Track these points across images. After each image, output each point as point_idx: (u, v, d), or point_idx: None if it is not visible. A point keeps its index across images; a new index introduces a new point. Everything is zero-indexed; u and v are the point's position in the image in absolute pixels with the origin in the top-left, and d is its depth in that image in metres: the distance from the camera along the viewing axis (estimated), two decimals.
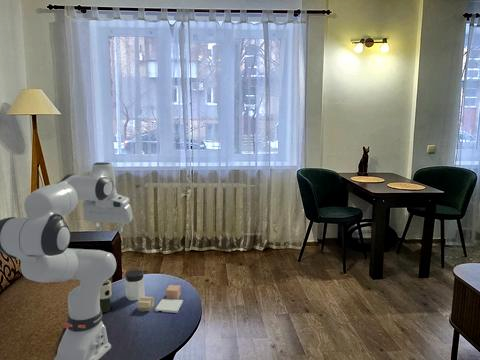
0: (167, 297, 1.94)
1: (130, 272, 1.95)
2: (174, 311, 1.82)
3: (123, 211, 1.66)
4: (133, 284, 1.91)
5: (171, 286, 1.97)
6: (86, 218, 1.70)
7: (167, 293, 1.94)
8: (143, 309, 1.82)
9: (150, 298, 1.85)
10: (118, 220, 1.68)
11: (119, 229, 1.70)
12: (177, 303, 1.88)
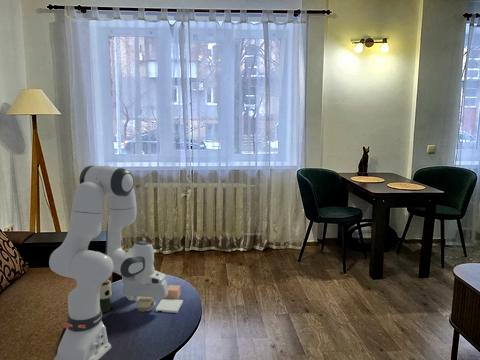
0: (167, 297, 1.94)
1: None
2: (174, 311, 1.82)
3: (160, 287, 1.80)
4: None
5: (171, 286, 1.97)
6: (125, 293, 1.83)
7: None
8: (143, 309, 1.82)
9: (150, 298, 1.85)
10: (155, 295, 1.81)
11: (152, 303, 1.83)
12: (177, 303, 1.88)
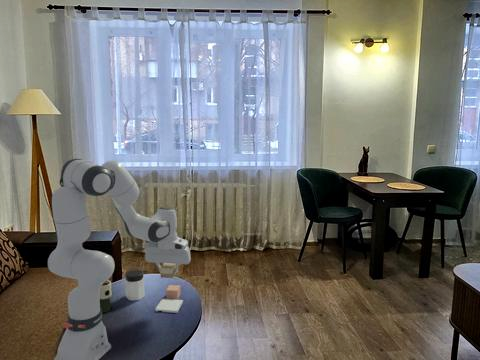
0: (167, 297, 1.94)
1: (130, 272, 1.95)
2: (174, 311, 1.82)
3: (183, 253, 1.79)
4: (133, 284, 1.91)
5: (171, 286, 1.97)
6: (147, 259, 1.82)
7: (167, 293, 1.94)
8: (166, 275, 1.81)
9: (172, 265, 1.84)
10: (178, 261, 1.80)
11: (175, 270, 1.82)
12: (177, 303, 1.88)
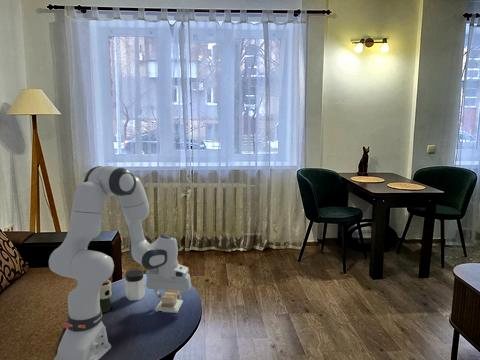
0: None
1: (130, 272, 1.95)
2: (174, 311, 1.82)
3: (184, 280, 1.81)
4: (133, 284, 1.91)
5: None
6: (148, 286, 1.84)
7: None
8: (167, 305, 1.84)
9: (173, 294, 1.87)
10: (178, 288, 1.83)
11: (178, 297, 1.84)
12: (177, 303, 1.88)
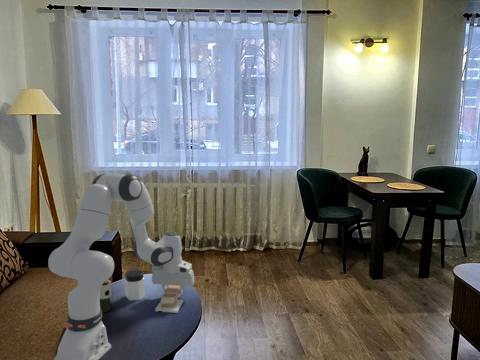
0: None
1: (130, 272, 1.95)
2: (174, 311, 1.82)
3: (187, 276, 1.91)
4: (133, 284, 1.91)
5: (171, 286, 1.97)
6: (154, 281, 1.95)
7: None
8: (167, 305, 1.84)
9: (173, 294, 1.87)
10: (182, 283, 1.93)
11: (180, 291, 1.95)
12: (177, 303, 1.88)
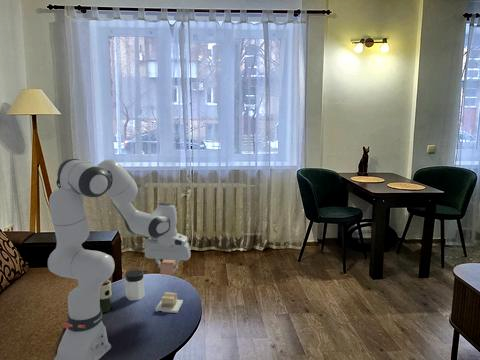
0: (161, 272, 1.81)
1: (130, 272, 1.95)
2: (174, 311, 1.82)
3: (183, 249, 1.78)
4: (133, 284, 1.91)
5: (165, 260, 1.84)
6: (147, 255, 1.81)
7: (161, 267, 1.81)
8: (167, 305, 1.84)
9: (173, 294, 1.87)
10: (177, 257, 1.80)
11: (175, 266, 1.82)
12: (177, 303, 1.88)
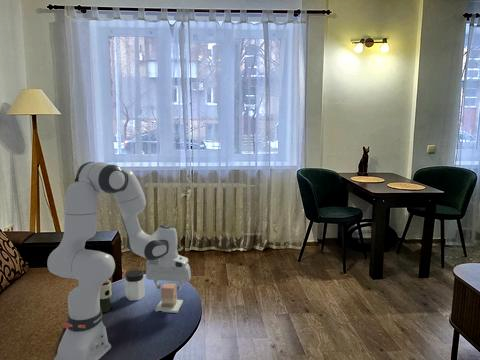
0: (162, 296, 1.83)
1: (130, 272, 1.95)
2: (174, 311, 1.82)
3: (184, 271, 1.80)
4: (133, 284, 1.91)
5: (166, 284, 1.86)
6: (148, 277, 1.83)
7: (162, 292, 1.83)
8: (167, 305, 1.84)
9: None
10: (178, 279, 1.82)
11: (178, 287, 1.84)
12: (177, 303, 1.88)
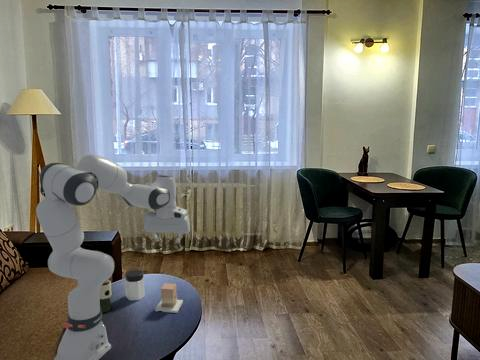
0: (162, 296, 1.83)
1: (130, 272, 1.95)
2: (174, 311, 1.82)
3: (183, 222, 1.76)
4: (133, 284, 1.91)
5: (166, 284, 1.86)
6: (146, 229, 1.79)
7: (162, 292, 1.83)
8: (167, 305, 1.84)
9: None
10: (177, 231, 1.77)
11: (177, 240, 1.79)
12: (177, 303, 1.88)
